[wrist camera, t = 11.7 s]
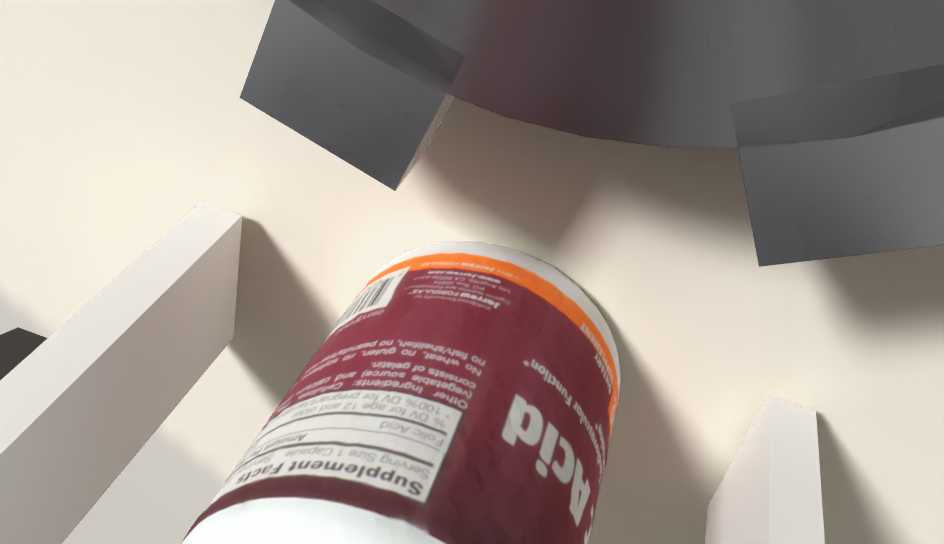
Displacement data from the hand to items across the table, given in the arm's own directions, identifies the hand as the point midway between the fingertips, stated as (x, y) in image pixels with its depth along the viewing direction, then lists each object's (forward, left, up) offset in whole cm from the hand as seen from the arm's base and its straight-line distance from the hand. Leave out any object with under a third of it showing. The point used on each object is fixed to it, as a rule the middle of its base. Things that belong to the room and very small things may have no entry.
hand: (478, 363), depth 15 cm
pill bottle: (0, 0, 0) cm, 0 cm away
